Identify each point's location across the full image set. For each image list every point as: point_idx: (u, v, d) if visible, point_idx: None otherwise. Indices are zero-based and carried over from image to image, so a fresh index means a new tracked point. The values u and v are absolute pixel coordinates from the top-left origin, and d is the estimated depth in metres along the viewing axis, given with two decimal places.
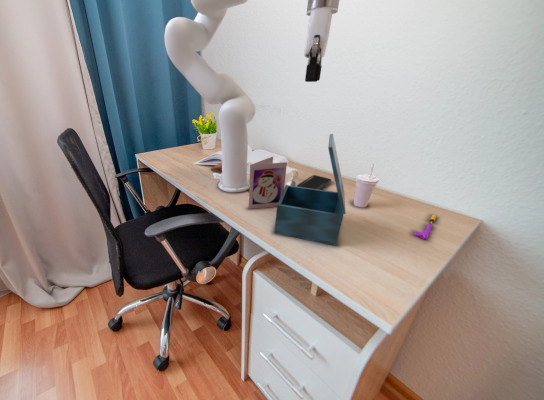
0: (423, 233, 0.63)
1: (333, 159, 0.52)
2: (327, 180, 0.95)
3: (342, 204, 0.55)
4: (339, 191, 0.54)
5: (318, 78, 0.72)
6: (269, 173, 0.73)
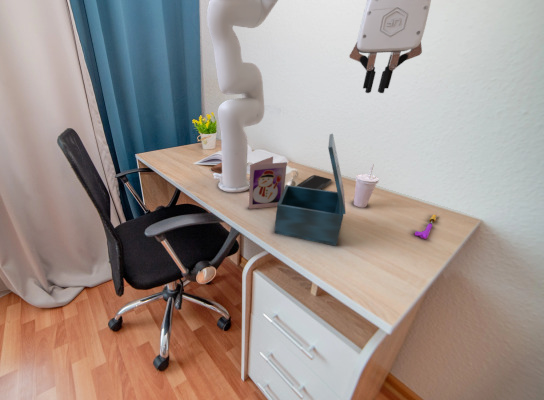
0: (423, 233, 0.63)
1: (333, 159, 0.52)
2: (327, 180, 0.95)
3: (342, 204, 0.55)
4: (339, 191, 0.54)
5: None
6: (269, 173, 0.73)
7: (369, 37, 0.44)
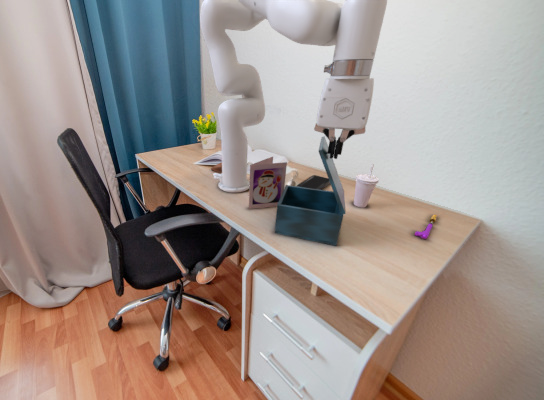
0: (423, 233, 0.63)
1: (325, 161, 0.53)
2: (327, 180, 0.95)
3: (340, 204, 0.56)
4: (335, 192, 0.55)
5: None
6: (269, 173, 0.73)
7: (325, 117, 0.53)
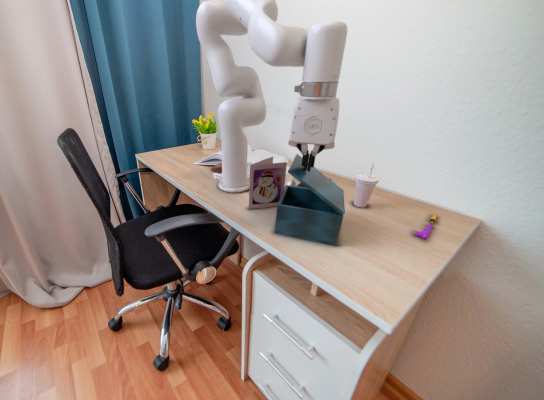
0: (423, 233, 0.63)
1: (298, 177, 0.57)
2: None
3: (335, 207, 0.56)
4: (323, 198, 0.56)
5: (307, 165, 0.63)
6: (269, 173, 0.73)
7: (296, 133, 0.56)
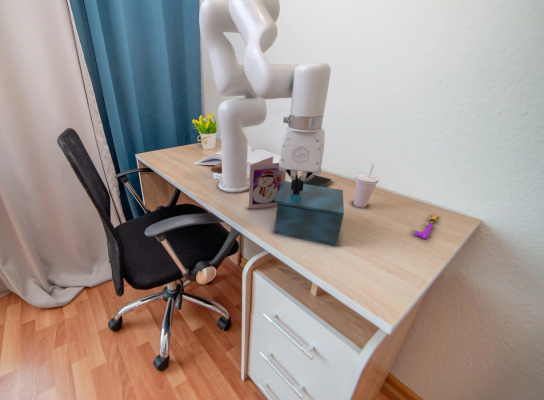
0: (423, 233, 0.63)
1: (285, 203, 0.61)
2: (327, 180, 0.95)
3: (331, 211, 0.57)
4: (316, 209, 0.58)
5: None
6: (269, 173, 0.73)
7: (285, 161, 0.60)
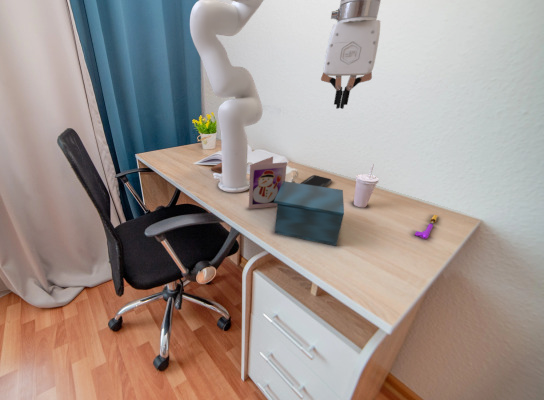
0: (423, 233, 0.63)
1: (285, 203, 0.61)
2: (327, 180, 0.95)
3: (331, 211, 0.57)
4: (316, 209, 0.58)
5: (339, 104, 0.60)
6: (269, 173, 0.73)
7: (332, 64, 0.54)
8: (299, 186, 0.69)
